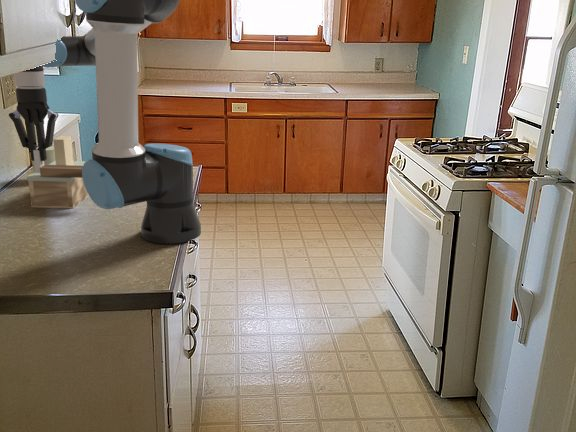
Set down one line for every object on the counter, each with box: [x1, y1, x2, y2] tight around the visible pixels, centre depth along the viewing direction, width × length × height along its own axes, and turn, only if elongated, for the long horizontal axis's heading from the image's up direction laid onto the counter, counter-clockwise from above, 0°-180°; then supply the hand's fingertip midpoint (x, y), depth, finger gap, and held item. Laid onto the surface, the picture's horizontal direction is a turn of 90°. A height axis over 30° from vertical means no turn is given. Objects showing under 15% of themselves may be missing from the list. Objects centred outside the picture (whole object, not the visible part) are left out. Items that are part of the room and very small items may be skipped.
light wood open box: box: [28, 178, 90, 209], centre depth 168 cm, size 20×12×8 cm, turn 0°
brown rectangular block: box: [40, 165, 83, 178], centre depth 157 cm, size 4×16×2 cm, turn 90°
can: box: [31, 144, 56, 173], centre depth 185 cm, size 9×9×12 cm
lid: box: [25, 135, 86, 182], centre depth 165 cm, size 21×13×10 cm, turn 0°
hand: (40, 171), depth 157 cm, fingers closed
